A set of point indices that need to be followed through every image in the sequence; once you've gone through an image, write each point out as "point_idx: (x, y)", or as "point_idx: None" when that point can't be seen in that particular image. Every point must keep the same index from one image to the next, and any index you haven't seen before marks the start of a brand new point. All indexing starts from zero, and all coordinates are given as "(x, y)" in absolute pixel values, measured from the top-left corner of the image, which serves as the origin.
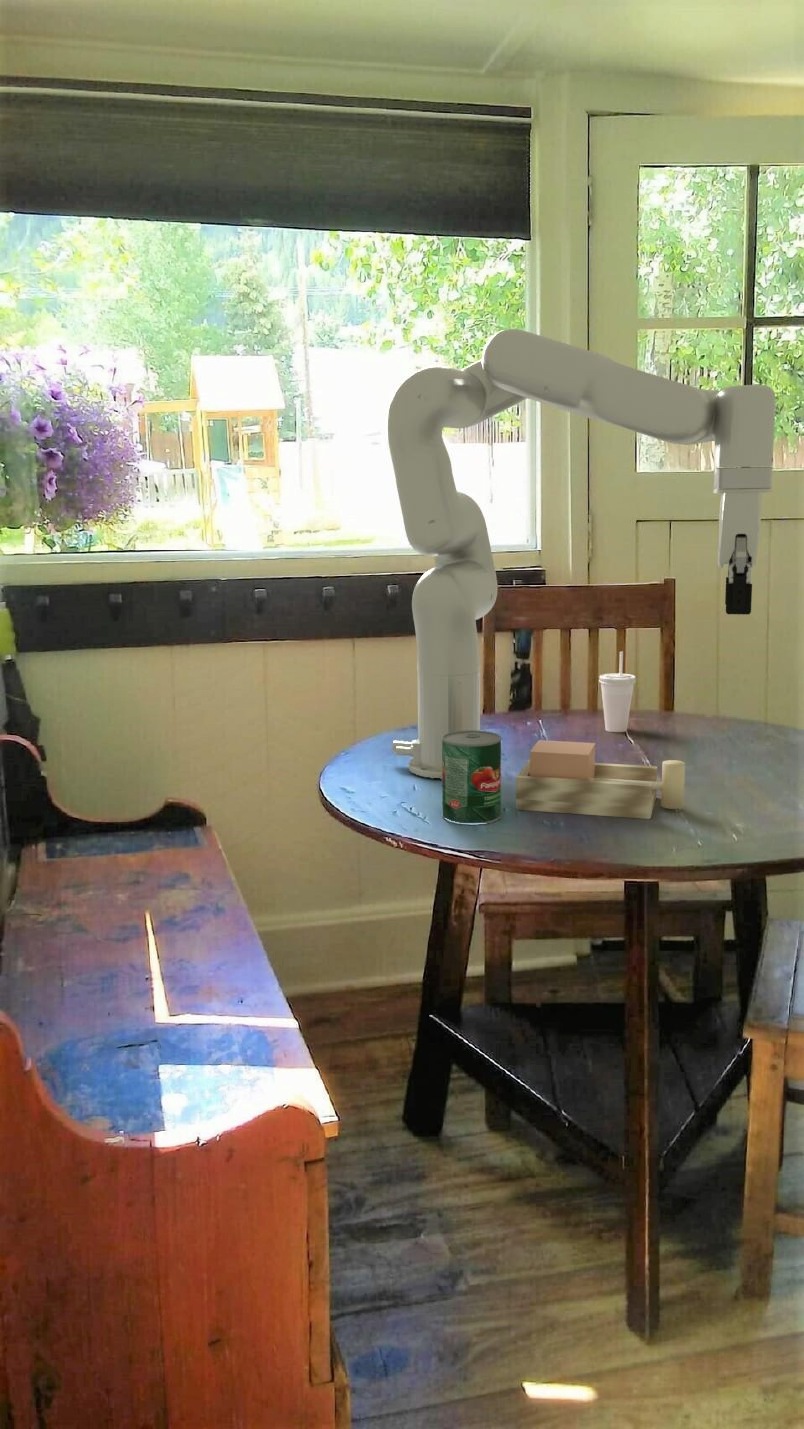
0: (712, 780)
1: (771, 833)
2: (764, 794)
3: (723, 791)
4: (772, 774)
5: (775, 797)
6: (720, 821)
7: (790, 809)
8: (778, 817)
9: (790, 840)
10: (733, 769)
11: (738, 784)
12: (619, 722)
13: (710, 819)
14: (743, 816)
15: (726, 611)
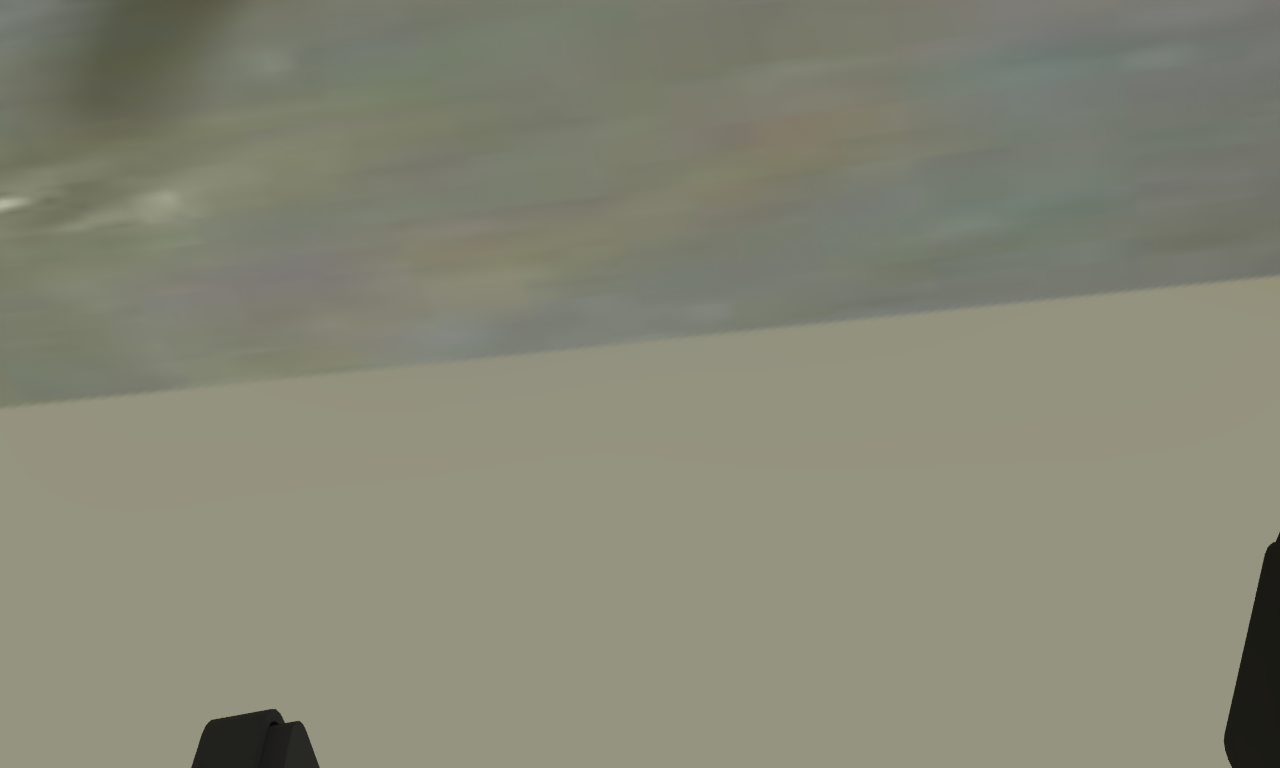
0: (817, 4)
1: (118, 328)
2: (652, 242)
3: (645, 78)
4: (967, 236)
5: (621, 285)
6: (173, 128)
7: (473, 352)
8: (344, 326)
9: (69, 394)
10: (1026, 72)
11: (777, 125)
12: None
13: (180, 83)
14: (294, 205)
15: (207, 739)
